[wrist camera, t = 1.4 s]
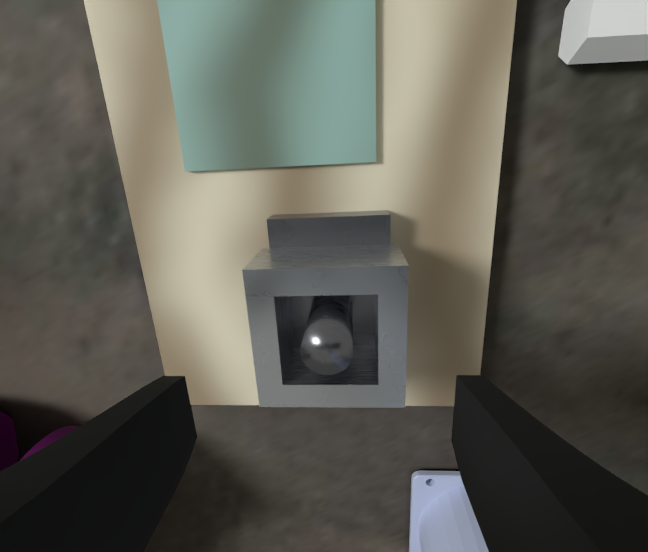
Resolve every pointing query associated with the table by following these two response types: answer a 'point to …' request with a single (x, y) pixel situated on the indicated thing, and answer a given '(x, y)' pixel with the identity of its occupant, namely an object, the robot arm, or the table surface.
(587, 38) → the marker
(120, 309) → the table surface
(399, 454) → the table surface
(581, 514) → the robot arm
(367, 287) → the square hollow frame
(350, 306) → the peg base
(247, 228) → the board
